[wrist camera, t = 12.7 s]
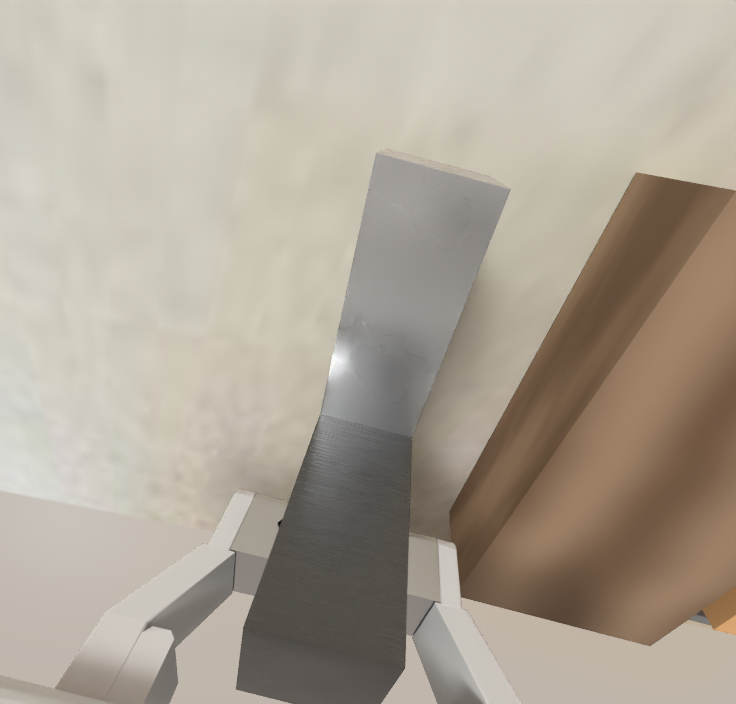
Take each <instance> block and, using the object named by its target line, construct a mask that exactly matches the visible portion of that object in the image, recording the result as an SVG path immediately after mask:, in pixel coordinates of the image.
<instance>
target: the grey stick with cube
mask: <svg viewBox="0 0 736 704" xmlns="http://www.w3.org/2000/svg"><path fill="white" fill-rule="evenodd" d="M510 190H511V189H509V188H508V187H506V186H504V185H503V184H501V183H499V182H498V181H496V180H494V179H493V178H491V177H489V176H486V175H483V174H479V173H475V172H472V171H468V170H464V169H460V168H457V167H453V166H449V165H446V164H442V163H438V162H434V161H431V160H427V159H423V158H420V157H416V156H412V155H409V154H405V153H401V152H397V151H394V150H390V149H385V150H382V151H380V152H377V153H376V156H375V161H374V165H373V170H372V175H371V179H370V184H369V189H368V193H367V198H366V203H365V207H364V212H363V217H362V221H361V226H360V231H359V235H358V240H357V245H356V249H355V254H354V259H353V263H352V268H351V273H350V277H349V282H348V287H347V291H346V296H345V301H344V305H343V310H342V315H341V320H340V324H339V329H338V334H337V338H336V343H335V348H334V352H333V357H332V362H331V366H330V371H329V376H328V380H327V385H326V390H325V394H324V399H323V404H322V408H321V413H320V416H319V419H318V422H317V424H316V427H315V430H314V433H313V435H312V438H311V441H310V444H309V447H308V449H307V452H306V455H305V458H304V460H303V463H302V466H301V469H300V472H299V474H298V477H297V480H296V483H295V485H294V488H293V491H292V494H291V497H290V499H289V502H288V505H287V508H286V510H285V513H284V516H283V519H282V522H281V524H280V527H279V530H278V533H277V535H276V538H275V541H274V544H273V547H272V549H271V552H270V555H269V558H268V560H267V563H266V566H265V569H264V572H263V574H262V577H261V580H260V583H259V585H258V588H257V591H256V594H255V597H254V599H253V602H252V605H251V608H250V610H249V613H248V616H247V619H246V621H245V624H244V627H243V635H242V644H241V652H240V660H239V668H238V676H237V685H236V690H240V691H244V692H248V693H253V694H256V695H260V696H265V697H268V698H273V699H276V700H281V701H284V702H288V703H292V704H381V703H382V701H383V700H384V698H385V697H386V695H387V694H388V692H389V691H390V689H391V688H392V687H393V685H394V684H395V682H396V681H397V679H398V678H399V676H400V675H401V673H402V672H403V671H404V669H405V651H406V620H407V586H408V552H409V517H410V483H411V449H412V436H413V433H414V431H415V428H416V426H417V423H418V421H419V418H420V416H421V413H422V411H423V408H424V406H425V403H426V401H427V398H428V396H429V393H430V391H431V388H432V386H433V383H434V381H435V378H436V376H437V373H438V371H439V368H440V366H441V363H442V361H443V358H444V356H445V353H446V351H447V348H448V346H449V343H450V341H451V338H452V336H453V333H454V331H455V328H456V325H457V323H458V320H459V318H460V315H461V313H462V310H463V308H464V305H465V303H466V300H467V298H468V295H469V293H470V290H471V288H472V285H473V283H474V280H475V278H476V275H477V273H478V270H479V268H480V265H481V263H482V260H483V258H484V255H485V253H486V250H487V248H488V245H489V243H490V240H491V238H492V235H493V233H494V230H495V228H496V225H497V223H498V220H499V218H500V215H501V213H502V210H503V207H504V205H505V202H506V200H507V197H508V195H509V192H510Z"/></svg>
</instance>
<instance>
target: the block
mask: <svg viewBox="0 0 736 704" xmlns="http://www.w3.org/2000/svg"><path fill="white" fill-rule="evenodd" d="M703 612H704V614H705V615H706V617H707V619H708V621H709V622H710V624H711V626H712V627H713V629H714V630H717V631H721V632H725V633H729V634H733V635H736V587H734V588H733V589H731V590H730V591H729V592H727V593H726V594H724V595H723V596H721V597H720V598H719V599H717V600H716V601H714V602H713V603H711V604H710V605H708V606H707V607H706V608H704V609H703Z"/></svg>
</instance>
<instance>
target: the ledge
mask: <svg viewBox="0 0 736 704" xmlns="http://www.w3.org/2000/svg"><path fill="white" fill-rule="evenodd" d="M450 526H451V540H452V543H454V544H455V546H456V550H457V561H458V572H459V582H460V593H461V597H463V598H466V599H471V600H474V601H478V602H482V603H486V604H490V605H494V606H498V607H501V608H505V609H509V610H513V611H517V612H520V613H524V614H528V615H532V616H536V617H540V618H544V619H548V620H551V621H555V622H559V623H563V624H567V625H570V626H574V627H578V628H582V629H586V630H590V631H594V632H597V633H601V634H605V635H609V636H613V637H617V638H621V639H625V640H628V641H632V642H636V643H640V644H644V645H648V646H651V645H652V644H654V643H655V642H657V641H658V640H660V639H661V638H662V637H664V636H665V635H667V634H668V633H670V632H671V631H673V630H674V629H675V628H677V627H678V626H680V625H681V624H683V623H684V622H686V621H687V620H688V619H690V618H691V617H693V616H694V615H696V614H697V613H698V612H700V611H701V610H703V609H704V608H706V607H707V606H708V605H710V604H711V603H713V602H714V601H716V600H717V599H719V598H720V597H721V596H723V595H724V594H726V593H727V592H729V591H730V590H731V589H733V588H734V587H736V191H734V190H729V189H723V188H718V187H712V186H707V185H702V184H696V183H691V182H685V181H680V180H674V179H669V178H663V177H658V176H653V175H647V174H642V173H636V174H635V176H634V178H633V179H632V181H631V183H630V185H629V187H628V188H627V190H626V192H625V194H624V196H623V198H622V199H621V201H620V203H619V205H618V207H617V208H616V210H615V212H614V214H613V216H612V218H611V219H610V221H609V223H608V225H607V227H606V228H605V230H604V232H603V234H602V236H601V238H600V239H599V241H598V243H597V245H596V247H595V248H594V250H593V252H592V254H591V256H590V258H589V259H588V261H587V263H586V265H585V267H584V269H583V270H582V272H581V274H580V276H579V278H578V279H577V281H576V283H575V285H574V287H573V289H572V290H571V292H570V294H569V296H568V298H567V299H566V301H565V303H564V305H563V307H562V309H561V310H560V312H559V314H558V316H557V318H556V319H555V321H554V323H553V325H552V327H551V329H550V330H549V332H548V334H547V336H546V338H545V339H544V341H543V343H542V345H541V347H540V349H539V350H538V352H537V354H536V356H535V358H534V359H533V361H532V363H531V365H530V367H529V369H528V370H527V372H526V374H525V376H524V378H523V379H522V381H521V383H520V385H519V387H518V389H517V390H516V392H515V394H514V396H513V398H512V399H511V401H510V403H509V405H508V407H507V409H506V410H505V412H504V414H503V416H502V418H501V419H500V421H499V423H498V425H497V427H496V429H495V430H494V432H493V434H492V436H491V438H490V439H489V441H488V443H487V445H486V447H485V449H484V450H483V452H482V454H481V456H480V458H479V459H478V461H477V463H476V465H475V467H474V469H473V470H472V472H471V474H470V476H469V478H468V479H467V481H466V483H465V485H464V487H463V489H462V490H461V492H460V494H459V496H458V498H457V499H456V501H455V503H454V505H453V507H452V509H451V510H450Z"/></svg>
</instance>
